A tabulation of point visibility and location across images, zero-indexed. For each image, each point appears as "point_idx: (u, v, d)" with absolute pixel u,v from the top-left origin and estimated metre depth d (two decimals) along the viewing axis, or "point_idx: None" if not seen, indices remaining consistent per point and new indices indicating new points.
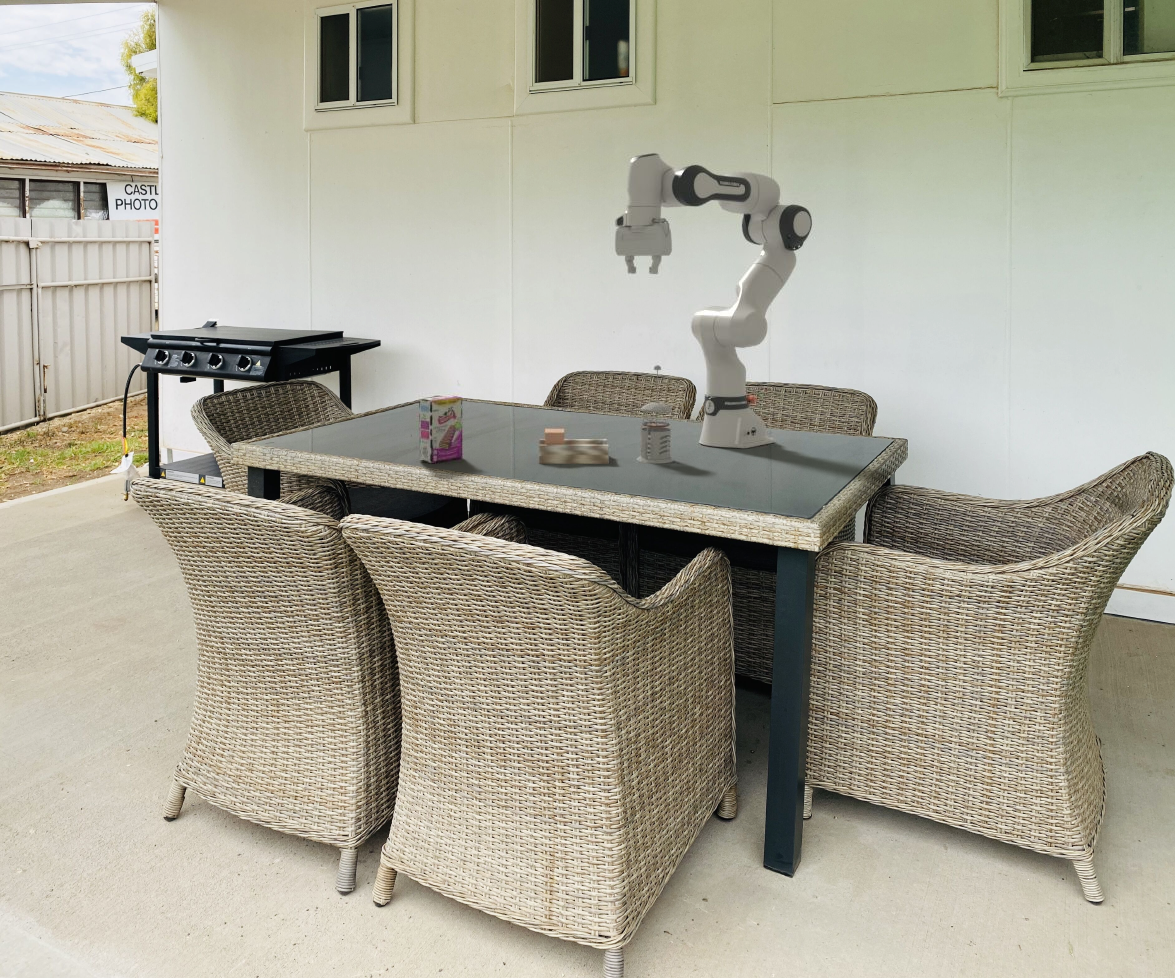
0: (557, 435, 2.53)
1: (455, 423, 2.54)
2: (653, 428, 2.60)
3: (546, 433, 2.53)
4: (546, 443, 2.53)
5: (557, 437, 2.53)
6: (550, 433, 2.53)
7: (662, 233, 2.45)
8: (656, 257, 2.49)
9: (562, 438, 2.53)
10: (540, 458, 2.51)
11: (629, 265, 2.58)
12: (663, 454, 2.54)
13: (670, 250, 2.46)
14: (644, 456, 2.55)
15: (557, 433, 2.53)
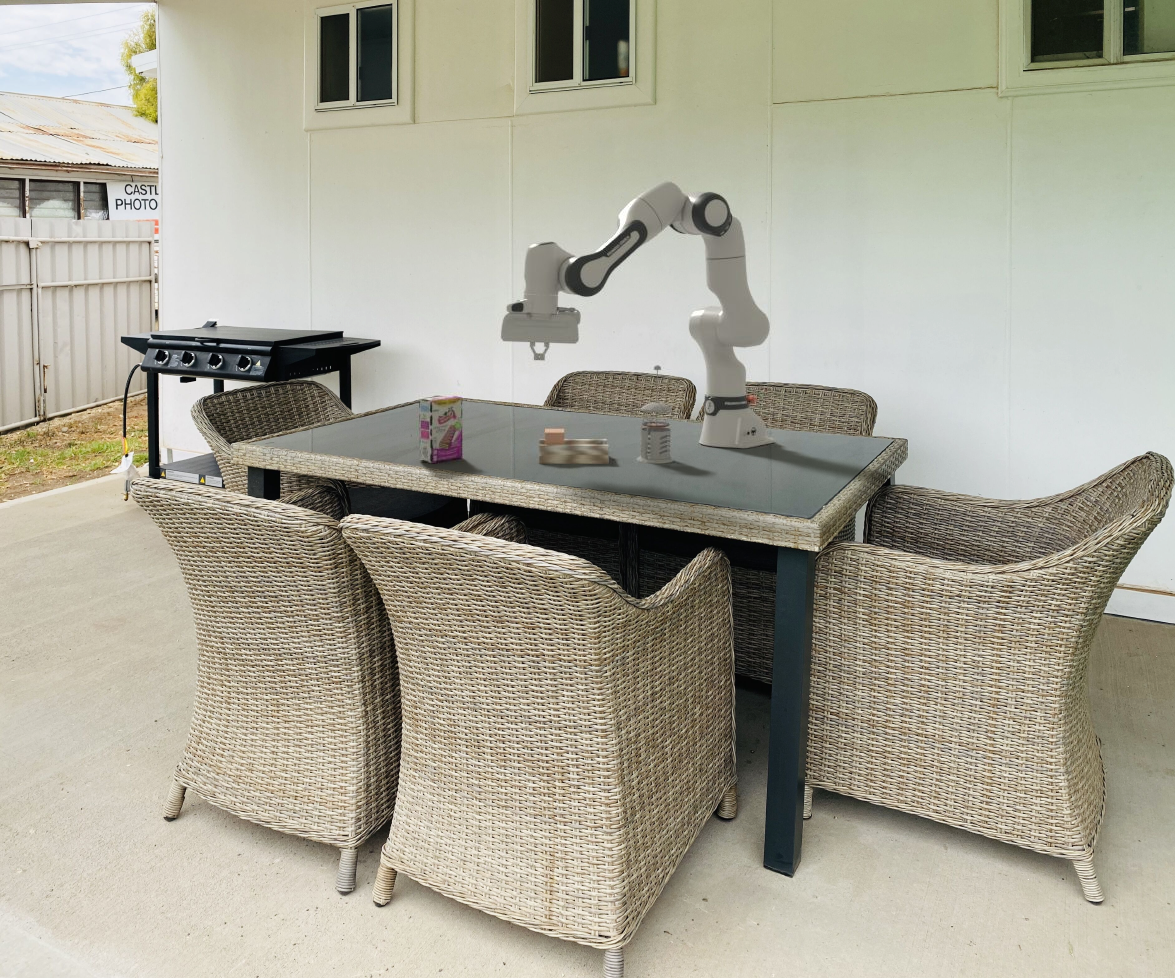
0: (557, 435, 2.53)
1: (455, 423, 2.54)
2: (653, 428, 2.60)
3: (546, 433, 2.53)
4: (546, 443, 2.53)
5: (557, 437, 2.53)
6: (550, 433, 2.53)
7: (577, 322, 2.51)
8: None
9: (562, 438, 2.53)
10: (540, 458, 2.51)
11: (535, 352, 2.53)
12: (663, 454, 2.54)
13: None
14: (644, 456, 2.55)
15: (557, 433, 2.53)
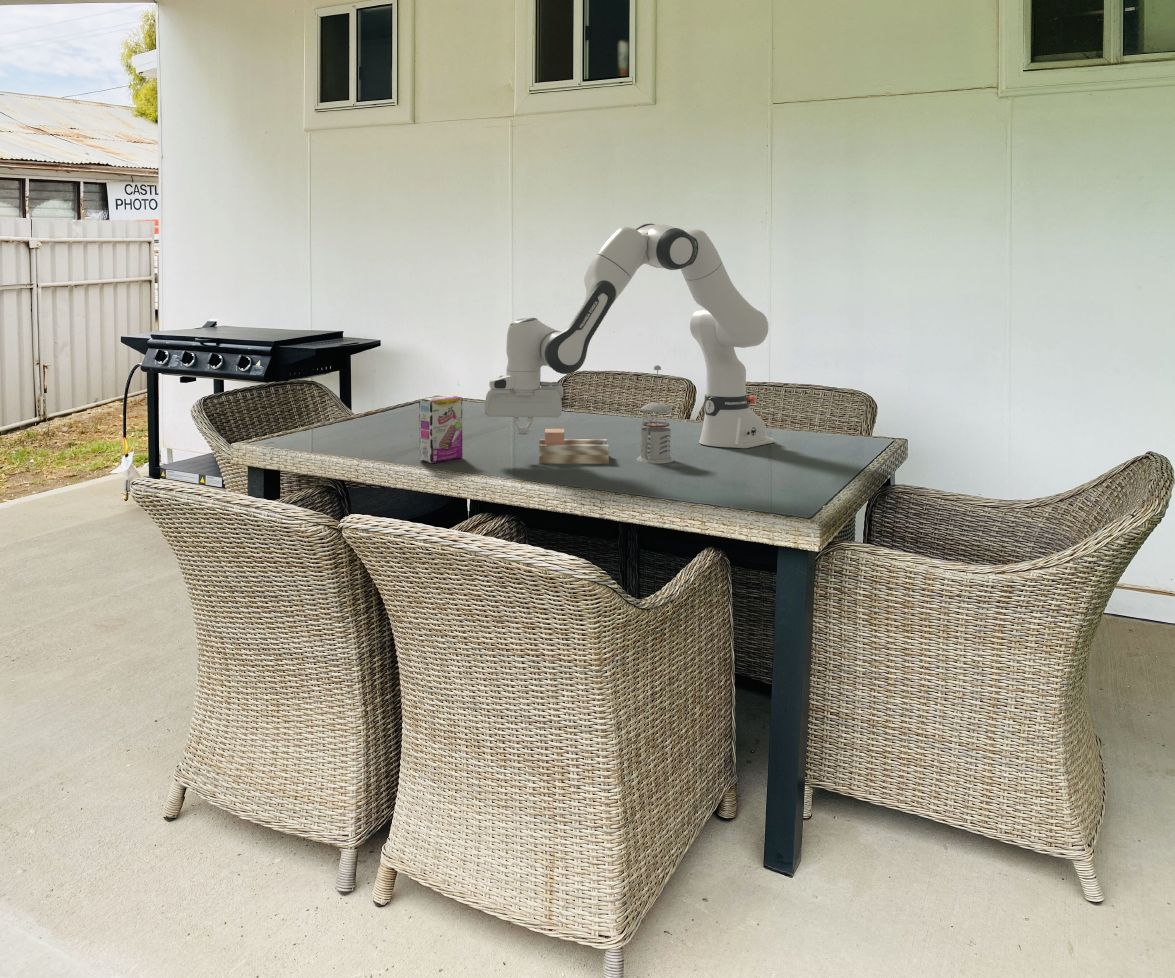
0: (557, 435, 2.53)
1: (455, 423, 2.54)
2: (653, 428, 2.60)
3: (546, 433, 2.53)
4: (546, 443, 2.53)
5: (557, 437, 2.53)
6: (550, 433, 2.53)
7: (560, 396, 2.53)
8: (532, 418, 2.54)
9: (562, 438, 2.53)
10: (540, 458, 2.51)
11: (519, 426, 2.54)
12: (663, 454, 2.54)
13: None
14: (644, 456, 2.55)
15: (557, 433, 2.53)
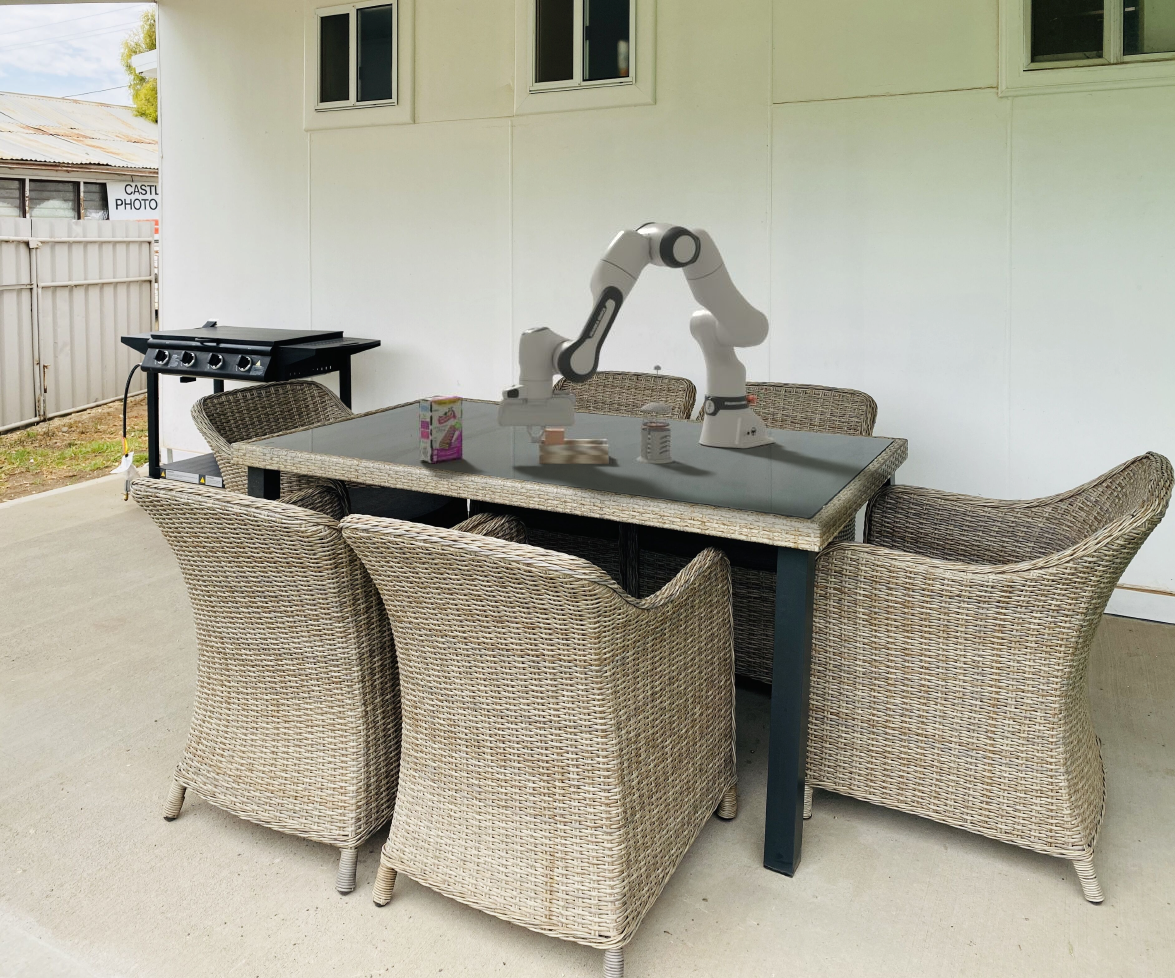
0: (557, 435, 2.53)
1: (455, 423, 2.54)
2: (653, 428, 2.60)
3: (546, 433, 2.53)
4: (546, 443, 2.53)
5: (557, 437, 2.53)
6: (550, 433, 2.53)
7: (572, 405, 2.54)
8: (545, 427, 2.55)
9: (562, 438, 2.53)
10: (540, 458, 2.51)
11: (532, 435, 2.55)
12: (663, 454, 2.54)
13: None
14: (644, 456, 2.55)
15: (557, 433, 2.53)
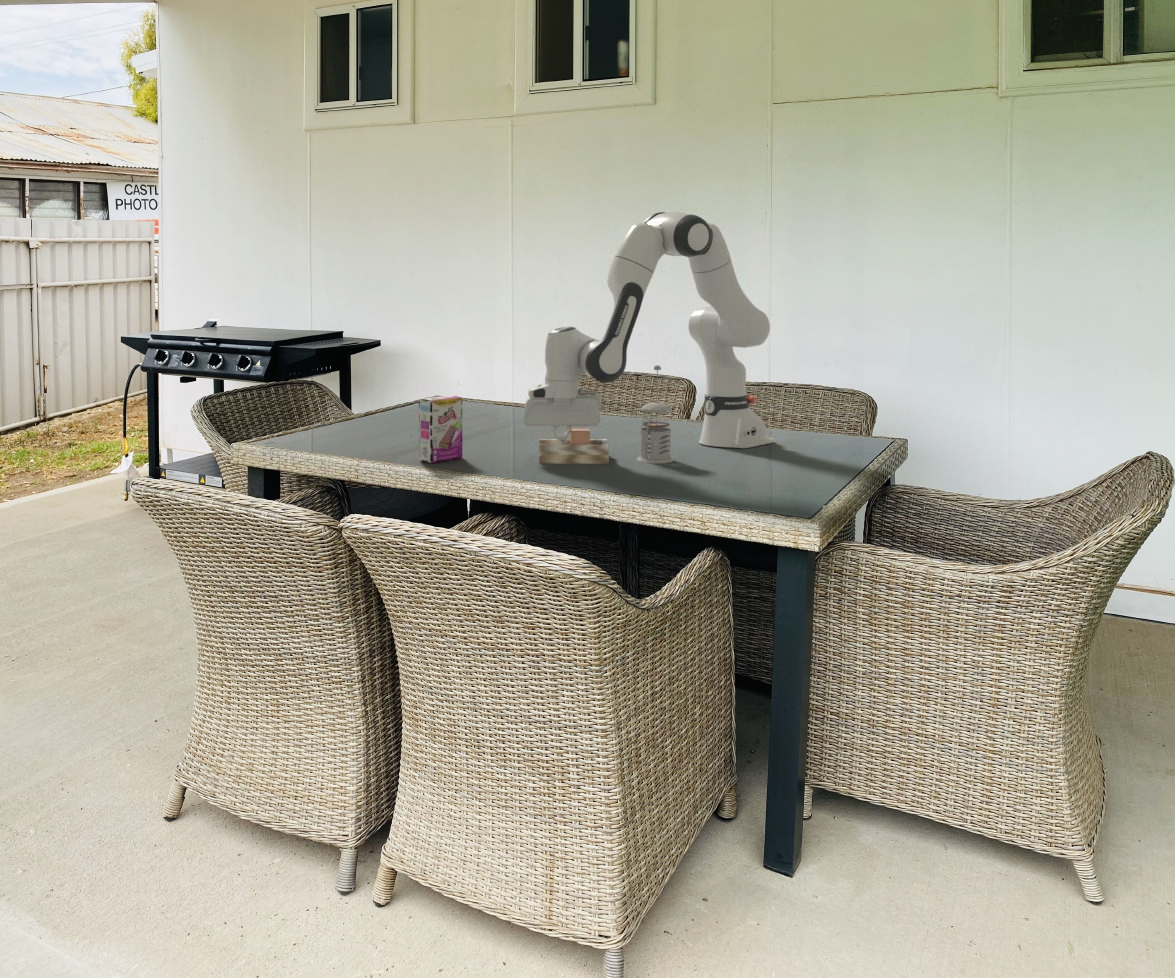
0: (583, 435, 2.53)
1: (455, 423, 2.54)
2: (653, 428, 2.60)
3: (572, 433, 2.53)
4: (572, 443, 2.54)
5: (583, 437, 2.54)
6: (576, 433, 2.53)
7: (598, 405, 2.54)
8: None
9: (588, 438, 2.54)
10: (540, 458, 2.51)
11: (558, 434, 2.56)
12: (663, 454, 2.54)
13: None
14: (644, 456, 2.55)
15: (583, 433, 2.53)
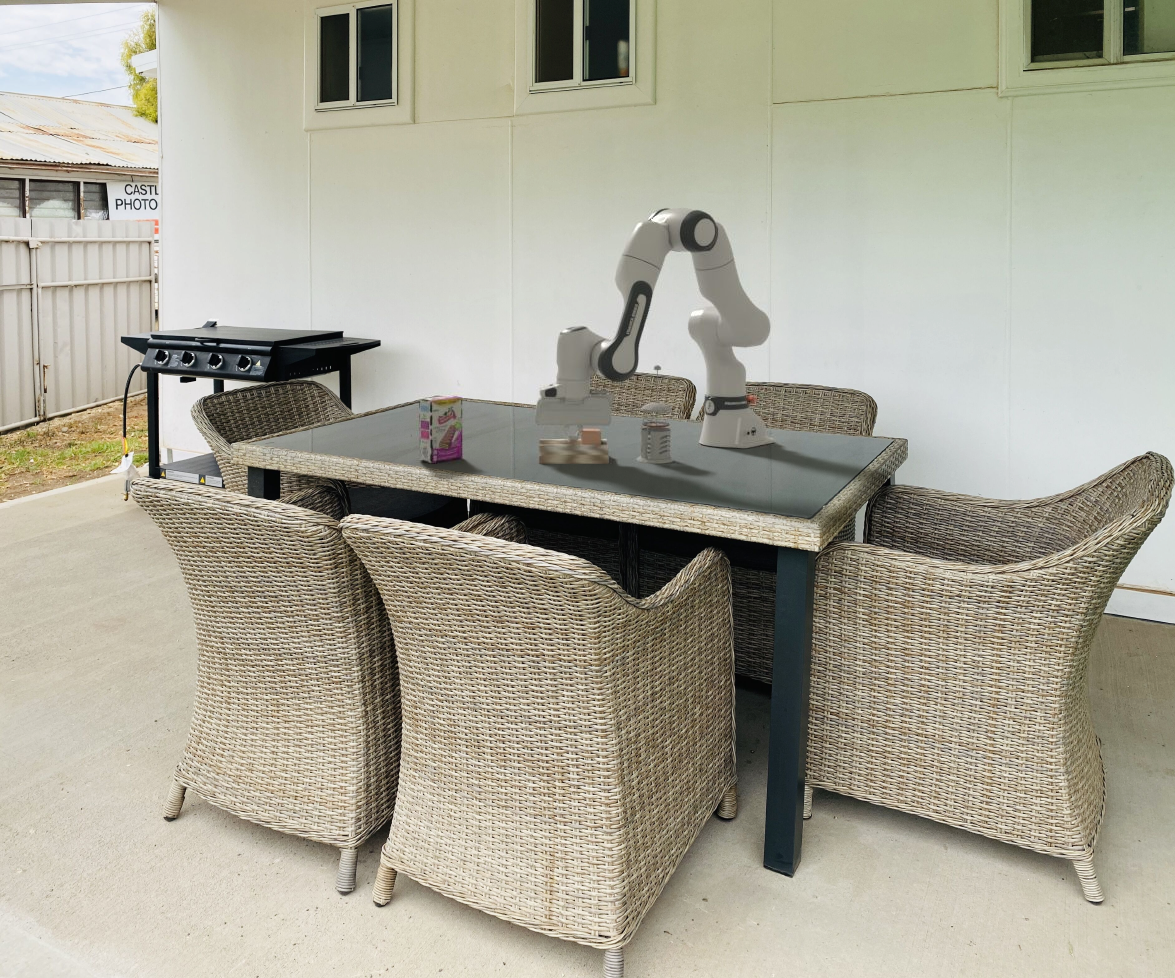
0: (594, 435, 2.54)
1: (455, 423, 2.54)
2: (653, 428, 2.60)
3: (583, 433, 2.53)
4: (583, 443, 2.54)
5: (594, 437, 2.54)
6: (587, 433, 2.53)
7: (609, 404, 2.54)
8: (582, 426, 2.55)
9: (599, 438, 2.54)
10: (540, 458, 2.51)
11: (569, 434, 2.56)
12: (663, 454, 2.54)
13: None
14: (644, 456, 2.55)
15: (594, 433, 2.53)
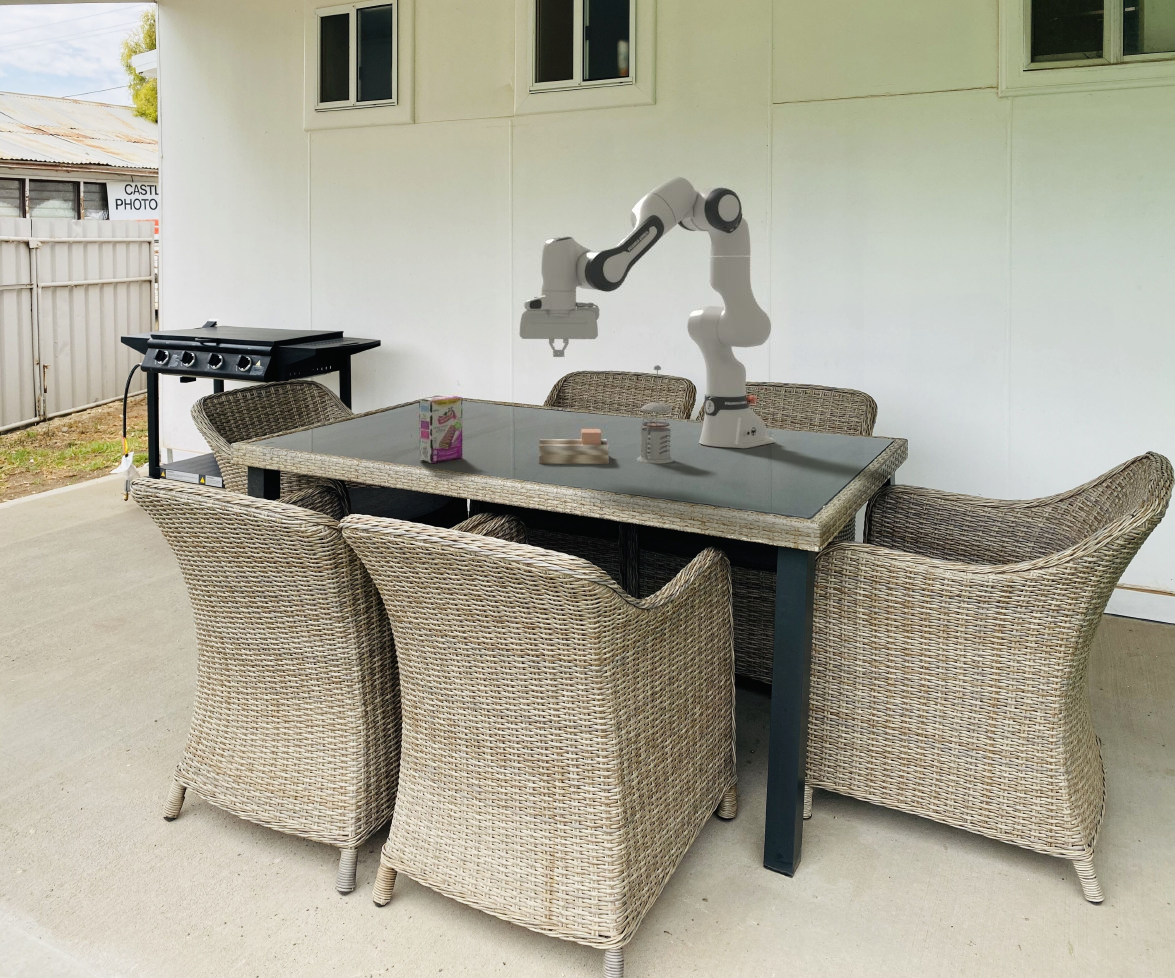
0: (594, 435, 2.54)
1: (455, 423, 2.54)
2: (653, 428, 2.60)
3: (583, 433, 2.53)
4: (583, 443, 2.54)
5: (594, 437, 2.54)
6: (587, 433, 2.53)
7: (596, 317, 2.49)
8: (568, 340, 2.50)
9: (599, 438, 2.54)
10: (540, 458, 2.51)
11: (554, 348, 2.51)
12: (663, 454, 2.54)
13: None
14: (644, 456, 2.55)
15: (594, 433, 2.53)
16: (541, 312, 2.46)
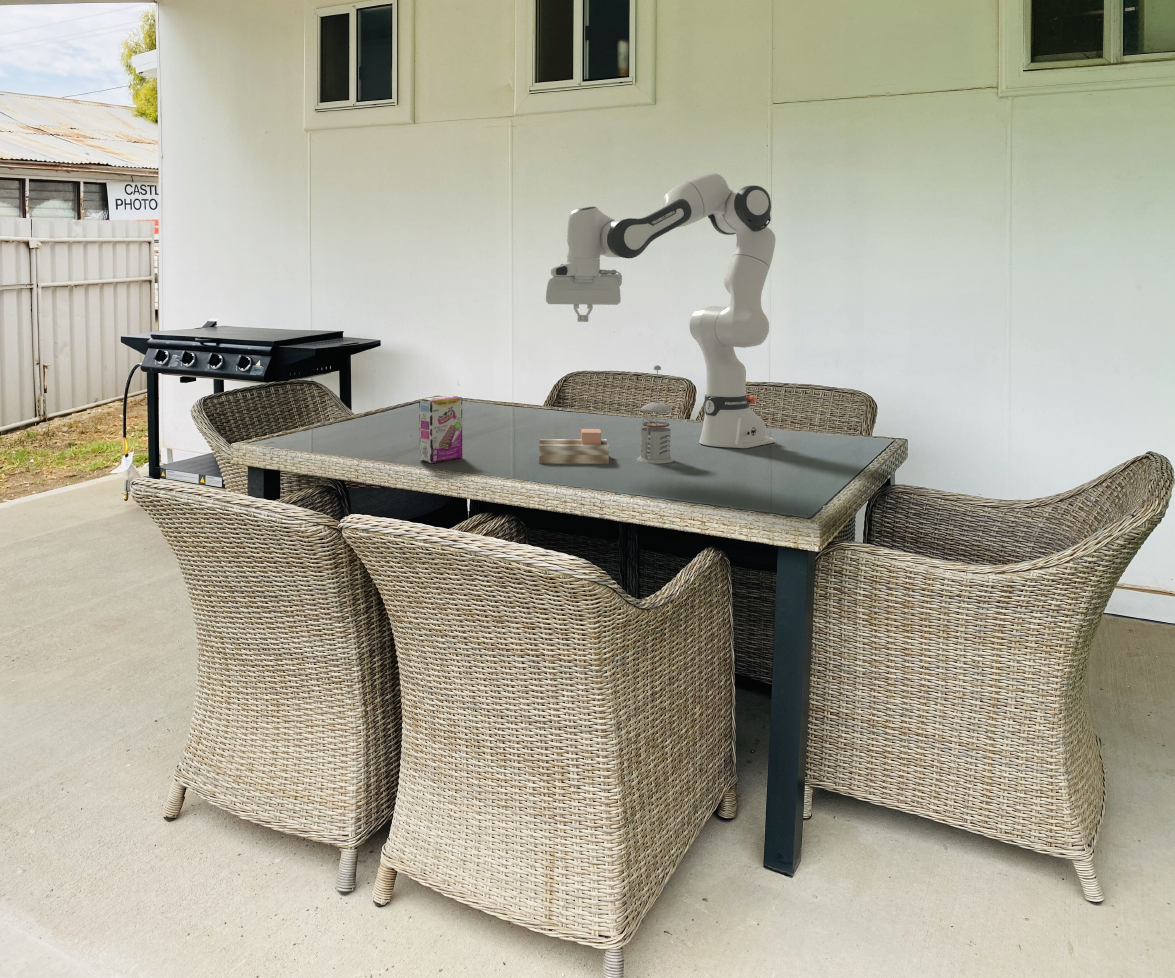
0: (594, 435, 2.54)
1: (455, 423, 2.54)
2: (653, 428, 2.60)
3: (583, 433, 2.53)
4: (583, 443, 2.54)
5: (594, 437, 2.54)
6: (587, 433, 2.53)
7: (618, 284, 2.61)
8: (592, 306, 2.63)
9: (599, 438, 2.54)
10: (540, 458, 2.51)
11: None
12: (663, 454, 2.54)
13: None
14: (644, 456, 2.55)
15: (594, 433, 2.53)
16: (567, 278, 2.59)
